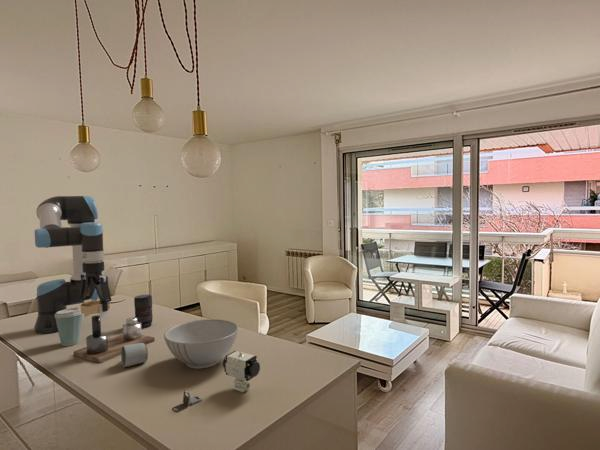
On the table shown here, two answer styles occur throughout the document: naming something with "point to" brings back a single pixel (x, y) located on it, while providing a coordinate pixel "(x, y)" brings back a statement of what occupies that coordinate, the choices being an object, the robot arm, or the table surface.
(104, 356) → the board
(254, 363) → the pneumatic valve
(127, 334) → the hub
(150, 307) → the camera lens
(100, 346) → the nail polish bottle
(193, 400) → the strap clip
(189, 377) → the table surface
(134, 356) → the ceramic mug
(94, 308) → the ring
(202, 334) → the decorative bowl
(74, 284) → the robot arm
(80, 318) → the disposable coffee cup
